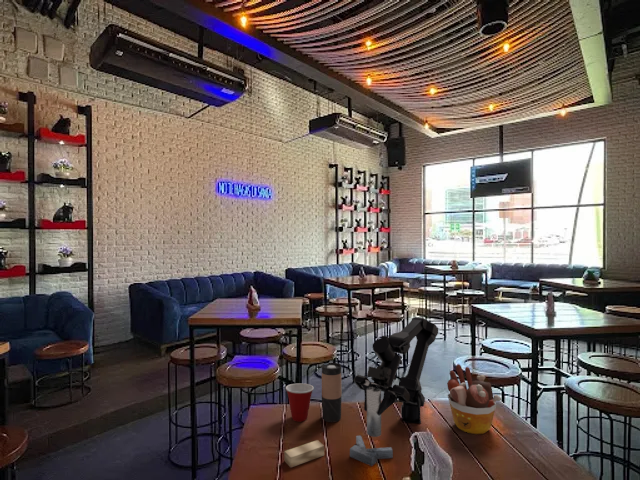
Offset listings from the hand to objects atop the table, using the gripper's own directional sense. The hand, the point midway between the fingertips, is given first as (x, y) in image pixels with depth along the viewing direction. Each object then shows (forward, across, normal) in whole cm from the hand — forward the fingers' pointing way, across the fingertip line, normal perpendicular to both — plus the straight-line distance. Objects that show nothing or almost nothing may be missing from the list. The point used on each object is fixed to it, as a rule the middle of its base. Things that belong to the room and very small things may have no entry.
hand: (371, 412), depth 120 cm
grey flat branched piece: (+10, 0, +7) cm, 13 cm away
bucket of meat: (-17, +19, +35) cm, 44 cm away
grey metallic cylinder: (+4, 0, +6) cm, 7 cm away
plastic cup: (+7, -34, +11) cm, 36 cm away
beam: (+20, -14, -3) cm, 25 cm away
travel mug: (+2, -24, +16) cm, 29 cm away
